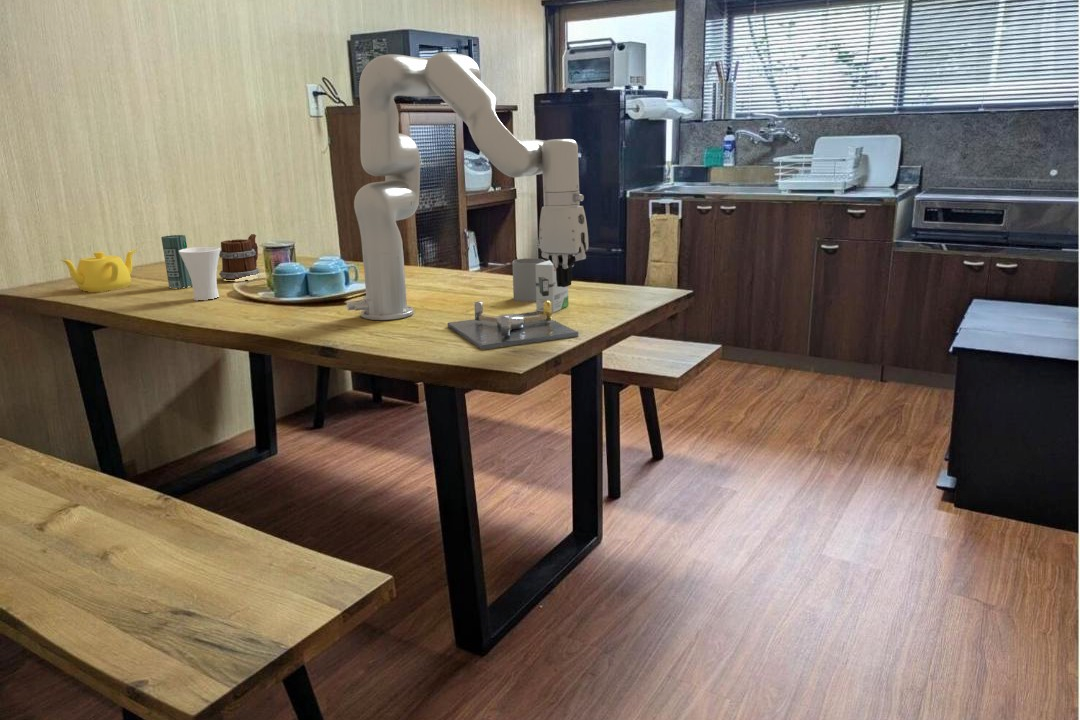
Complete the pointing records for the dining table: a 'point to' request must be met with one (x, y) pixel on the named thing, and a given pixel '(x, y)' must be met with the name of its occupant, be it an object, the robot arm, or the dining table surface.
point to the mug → (239, 258)
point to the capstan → (512, 318)
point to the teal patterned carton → (175, 261)
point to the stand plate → (511, 332)
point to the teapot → (102, 272)
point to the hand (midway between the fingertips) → (564, 285)
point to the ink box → (549, 288)
